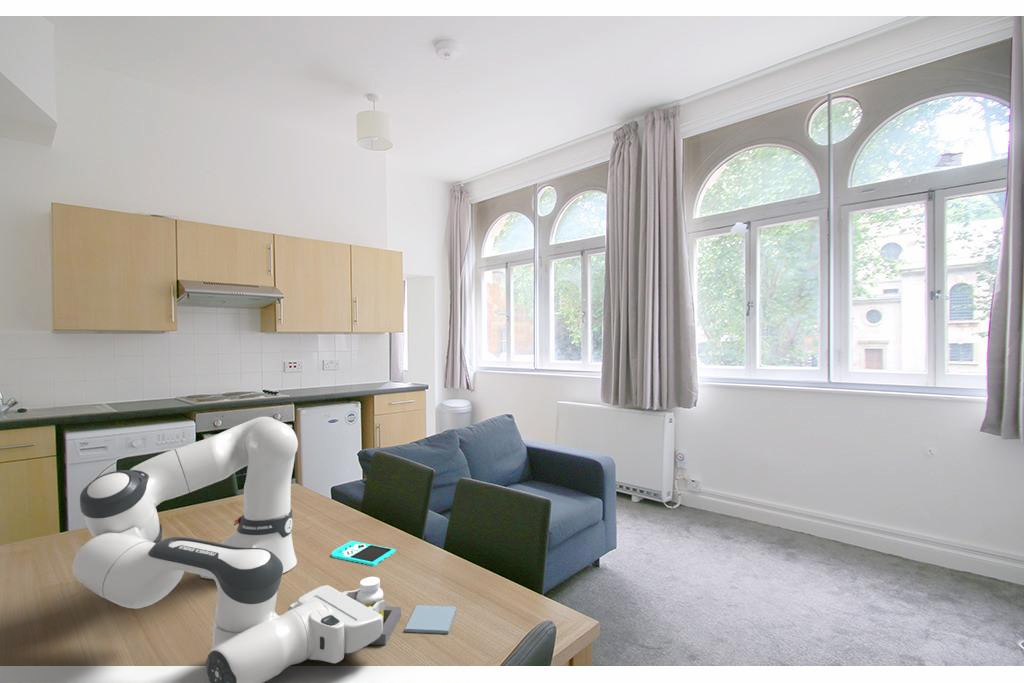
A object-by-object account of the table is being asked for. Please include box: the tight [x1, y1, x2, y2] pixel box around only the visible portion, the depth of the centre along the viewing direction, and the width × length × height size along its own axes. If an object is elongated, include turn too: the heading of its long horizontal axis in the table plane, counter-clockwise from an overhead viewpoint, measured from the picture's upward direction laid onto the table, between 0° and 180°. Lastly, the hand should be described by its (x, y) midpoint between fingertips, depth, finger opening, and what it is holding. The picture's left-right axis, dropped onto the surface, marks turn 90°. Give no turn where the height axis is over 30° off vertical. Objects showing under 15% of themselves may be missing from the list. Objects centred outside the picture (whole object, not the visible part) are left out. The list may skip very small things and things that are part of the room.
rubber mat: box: [404, 604, 458, 634], centre depth 103 cm, size 9×9×1 cm
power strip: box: [369, 605, 402, 646], centre depth 100 cm, size 28×10×3 cm, turn 86°
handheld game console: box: [331, 540, 396, 567], centre depth 135 cm, size 10×16×1 cm, turn 68°
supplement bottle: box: [356, 576, 384, 616], centre depth 99 cm, size 5×5×10 cm
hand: (373, 597), depth 100 cm, fingers closed on supplement bottle, 5 cm apart
